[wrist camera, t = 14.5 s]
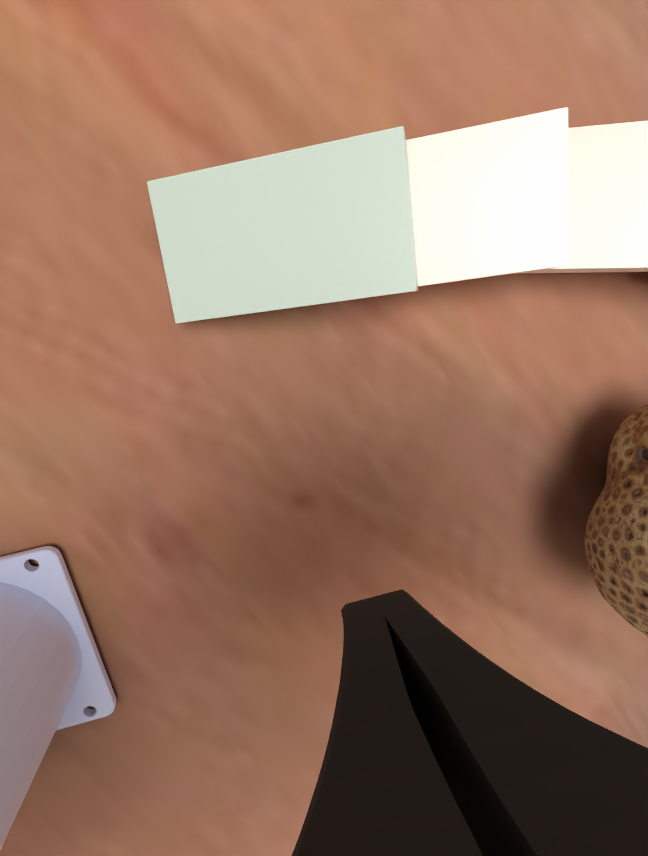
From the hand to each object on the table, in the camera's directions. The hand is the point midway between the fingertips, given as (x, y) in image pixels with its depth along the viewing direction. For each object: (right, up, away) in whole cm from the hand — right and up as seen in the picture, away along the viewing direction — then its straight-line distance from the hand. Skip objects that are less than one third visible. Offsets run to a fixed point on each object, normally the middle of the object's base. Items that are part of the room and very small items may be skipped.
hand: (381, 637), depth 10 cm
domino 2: (-1, +11, +7) cm, 13 cm away
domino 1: (-6, +10, +7) cm, 14 cm away
